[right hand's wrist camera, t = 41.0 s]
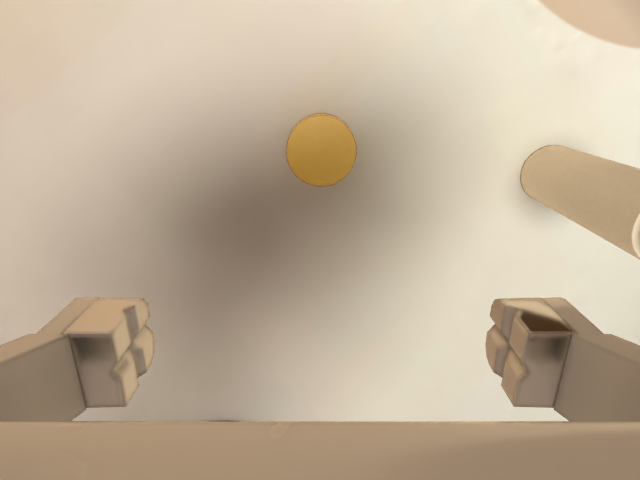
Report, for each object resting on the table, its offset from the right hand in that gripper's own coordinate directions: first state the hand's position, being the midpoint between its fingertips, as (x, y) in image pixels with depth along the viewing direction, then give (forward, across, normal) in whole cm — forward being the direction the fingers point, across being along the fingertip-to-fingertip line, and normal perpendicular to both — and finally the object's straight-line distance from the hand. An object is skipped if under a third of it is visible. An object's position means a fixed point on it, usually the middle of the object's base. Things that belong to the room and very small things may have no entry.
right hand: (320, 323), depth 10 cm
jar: (+27, +19, -2) cm, 33 cm away
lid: (+25, 0, 0) cm, 25 cm away
